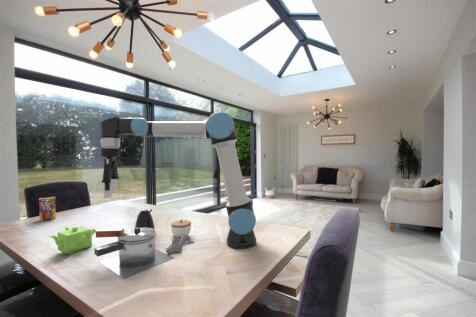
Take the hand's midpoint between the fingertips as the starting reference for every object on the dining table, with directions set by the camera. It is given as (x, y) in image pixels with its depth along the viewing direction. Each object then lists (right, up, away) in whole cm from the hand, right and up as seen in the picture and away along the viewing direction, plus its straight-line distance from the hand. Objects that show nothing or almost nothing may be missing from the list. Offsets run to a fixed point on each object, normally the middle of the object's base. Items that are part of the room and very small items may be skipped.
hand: (111, 195), depth 108 cm
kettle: (-21, -27, +6) cm, 35 cm away
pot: (+12, -26, -10) cm, 30 cm away
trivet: (+15, -27, -6) cm, 32 cm away
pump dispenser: (+6, -27, +24) cm, 37 cm away
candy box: (-76, -26, +61) cm, 101 cm away
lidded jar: (+26, -27, +25) cm, 45 cm away
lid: (+10, -16, -7) cm, 20 cm away
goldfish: (+29, -27, +9) cm, 41 cm away
